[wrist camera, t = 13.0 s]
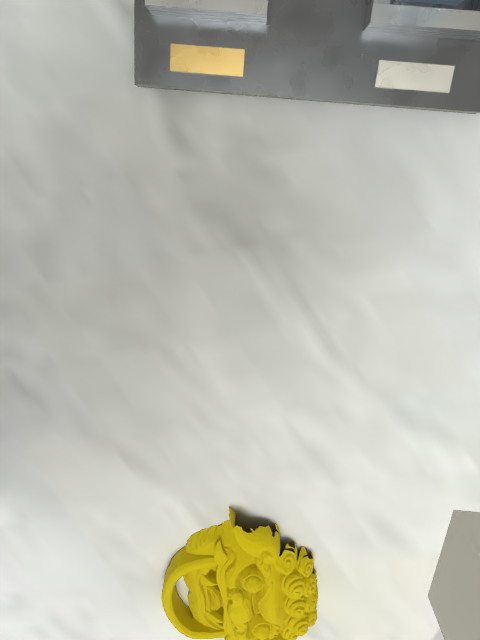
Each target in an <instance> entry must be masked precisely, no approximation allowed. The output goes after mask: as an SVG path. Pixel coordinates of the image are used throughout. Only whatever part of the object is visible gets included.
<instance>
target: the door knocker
mask: <svg viewBox="0 0 480 640" xmlns="http://www.w3.org/2000/svg"><path fill="white" fill-rule="evenodd" d="M229 510H230V513H229V517H230V520H227V521H225V522H224V523H223V524H222V525H220V526H219V525H218V526H217V525H215V526H211V527H210V528H209V529H203V530H200V531H199V532H196V533H195V534H193V535H192V536H191V537H190V538H189V540H188V541H187V545H186V546H185V547H183V548H182V549H181V550H179V551H178V552H177V553H176V555H175V556H174V557H173V558H172V560H171V563H170V566H168V568H167V571H166V573H165V578H164V584H163V590H162V603H163V607H164V611H165V613H166V615H167V617H168V619H169V620H170V622H171V623H172V624H173V625H174V626H175V628H176V629H177V630H178V631H179V632H181V633H182V634H184V635H186V636H187V637H190V638H192V639H212V638H222V637H225V640H296V638H297V637H298V636H303V635H304V634H305V633H307V630H308V626H309V627H311V626H313V625H314V624H315V621H316V619H317V610H316V603H317V599H318V592H317V586H316V584H317V579H316V578H317V577H316V571H315V569H314V571H315V574H313V573H312V571H313V568H314V560H313V554H312V552H311V554H312V559H309V558H308V556H307V557H303V556H305V555H307V554H308V553H307V552H306V550H305V547H303V546H302V548H301V551H300V554H299V557H298V561H297V546H296V543H295V549H294V548H293V547H290V546H289V544H286V547H285V549H287V548H293V549H294V551H295V553H293V552H292V551H288V550H284V551H283V553H282V555H281V557H280V556H279V555H280V535H279V533H277V532H275V536H274V537H273V536H272V534H273V533H272V531H271V529H270V527H269V525H268V526H267V527H262V526H259V528H258V529H257V528H256V531H254V530H253V529H251V528H250V529H251V531H252V533H247V532H245V531H243V529H242V527H239V526H238V525H237V526H235V518H236V514H235V512H234V511H233V510H232V509H231V508H230V507H229ZM275 526H276V529H277V530H278V532H279V528H278V526H277V524H276V523H275ZM294 542H295V541H294ZM302 557H303V558H302ZM182 576H184V580H185V583H186V585H187V587H188V588H189V592H188V602H189V607H190V608H189V607H188V606H186V605H185V604H184V603H183V601H182V600H181V598H180V597H179V595H178V593H177V591H176V587H175V584H176V582H177V581H178V579H179V578H181V577H182ZM193 617H194V618H193Z"/></svg>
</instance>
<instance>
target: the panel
mask: <svg viewBox="0 0 480 640" xmlns="http://www.w3.org/2000/svg"><path fill="white" fill-rule="evenodd" d="M135 85H136V86H138V87H148V88H160V89H173V90H185V91H197V92H210V93H222V94H235V95H247V96H259V97H272V98H284V99H297V100H309V101H321V102H334V103H346V104H359V105H371V106H383V107H396V108H408V109H421V110H433V111H445V112H458V113H470V114H476V113H480V0H464V1H463V2H461V3H460V4H459V5H445V4H432V3H419V2H406V1H395V0H135Z"/></svg>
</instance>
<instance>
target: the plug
mask: <svg viewBox="0 0 480 640" xmlns="http://www.w3.org/2000/svg"><path fill="white" fill-rule="evenodd" d="M395 1H406V2H419V3H432V4H445V5H459V4H460V3H461V2H463V1H464V0H395Z"/></svg>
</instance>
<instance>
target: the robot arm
mask: <svg viewBox="0 0 480 640" xmlns="http://www.w3.org/2000/svg"><path fill="white" fill-rule="evenodd" d="M428 598H429V600H430V603H431V605H432V608H433V611H434V613H435V616H436V618H437V621H438V624H439V626H440V629H441V632H442V634H443V637H444V639H445V640H480V512H472V511H461V510H453V514H452V517H451V520H450V524H449V527H448V530H447V534H446V537H445V540H444V544H443V547H442V550H441V554H440V557H439V560H438V564H437V567H436V570H435V573H434V577H433V580H432V583H431V587H430V590H429V593H428Z"/></svg>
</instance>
